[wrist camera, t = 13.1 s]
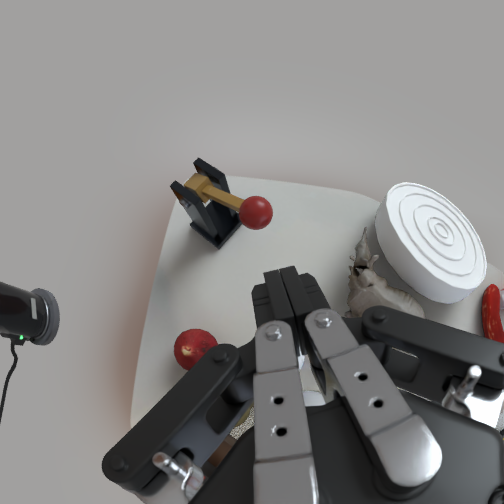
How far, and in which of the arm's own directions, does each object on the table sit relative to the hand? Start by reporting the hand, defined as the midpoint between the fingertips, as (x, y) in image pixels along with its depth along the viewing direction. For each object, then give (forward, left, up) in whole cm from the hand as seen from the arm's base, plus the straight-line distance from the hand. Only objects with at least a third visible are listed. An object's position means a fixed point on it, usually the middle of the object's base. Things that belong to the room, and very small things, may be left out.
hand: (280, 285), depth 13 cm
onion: (-10, +5, -26) cm, 28 cm away
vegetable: (+17, -35, -24) cm, 46 cm away
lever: (+6, +11, -14) cm, 19 cm away
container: (+24, -12, -19) cm, 33 cm away
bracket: (+6, +16, -26) cm, 31 cm away
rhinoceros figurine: (+10, -9, -26) cm, 29 cm away
